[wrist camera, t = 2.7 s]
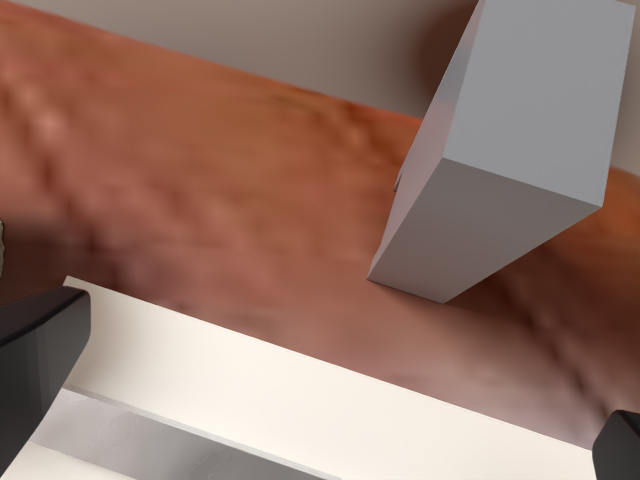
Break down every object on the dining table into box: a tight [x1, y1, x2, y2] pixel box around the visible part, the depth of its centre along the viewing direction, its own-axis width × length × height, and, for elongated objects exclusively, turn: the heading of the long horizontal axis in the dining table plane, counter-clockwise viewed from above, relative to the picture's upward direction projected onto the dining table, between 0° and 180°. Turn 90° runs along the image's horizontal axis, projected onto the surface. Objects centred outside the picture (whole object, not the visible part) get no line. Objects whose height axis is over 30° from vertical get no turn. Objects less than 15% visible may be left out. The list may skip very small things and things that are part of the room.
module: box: [367, 0, 636, 304], centre depth 18 cm, size 6×4×12 cm, turn 162°
